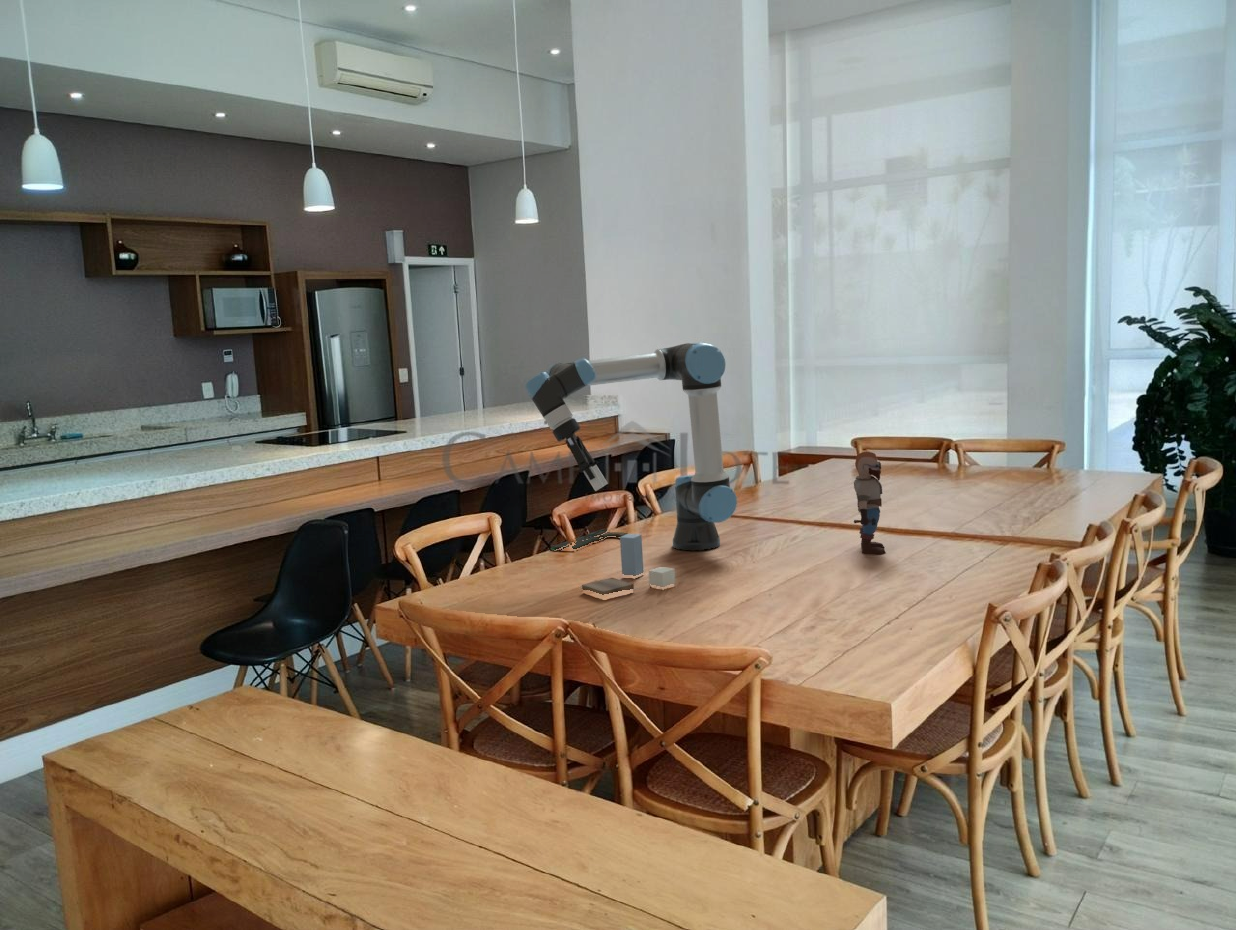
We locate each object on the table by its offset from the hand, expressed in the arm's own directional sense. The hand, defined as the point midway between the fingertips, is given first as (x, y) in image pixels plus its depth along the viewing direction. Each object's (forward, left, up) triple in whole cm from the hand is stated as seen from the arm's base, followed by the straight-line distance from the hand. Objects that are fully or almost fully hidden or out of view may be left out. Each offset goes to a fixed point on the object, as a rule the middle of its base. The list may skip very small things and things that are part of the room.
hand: (601, 487), depth 279 cm
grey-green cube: (-4, +20, -26) cm, 34 cm away
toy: (-72, +34, -26) cm, 84 cm away
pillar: (-5, +5, -26) cm, 27 cm away
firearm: (-22, -41, -27) cm, 54 cm away
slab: (+10, +14, -27) cm, 32 cm away
